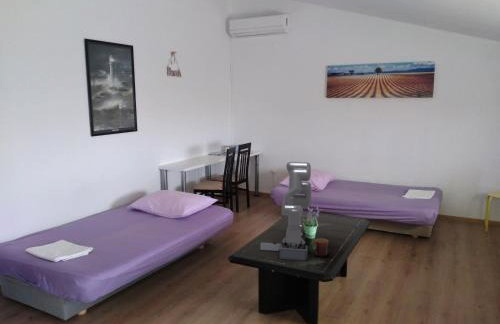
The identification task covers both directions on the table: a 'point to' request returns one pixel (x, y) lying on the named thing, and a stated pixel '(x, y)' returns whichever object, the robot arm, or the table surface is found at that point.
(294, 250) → the grey open bin
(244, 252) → the table surface
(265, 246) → the lock bar
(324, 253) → the mug
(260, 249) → the track
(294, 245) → the lock block
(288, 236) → the robot arm
